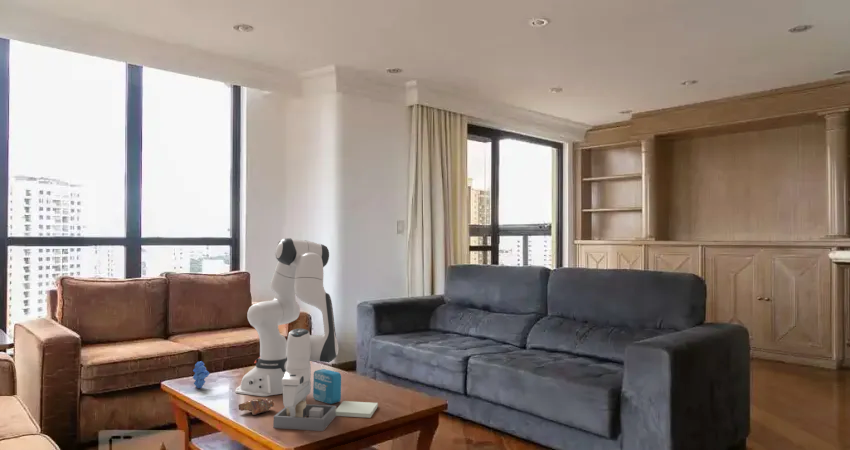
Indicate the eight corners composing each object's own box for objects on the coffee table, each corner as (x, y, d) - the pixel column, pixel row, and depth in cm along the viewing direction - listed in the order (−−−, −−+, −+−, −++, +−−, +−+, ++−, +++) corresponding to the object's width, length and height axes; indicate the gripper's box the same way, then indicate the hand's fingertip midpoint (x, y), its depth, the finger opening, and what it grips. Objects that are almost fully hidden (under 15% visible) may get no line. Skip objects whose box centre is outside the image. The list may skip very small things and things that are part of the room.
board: (333, 415, 219) (333, 411, 219) (343, 404, 233) (343, 400, 233) (370, 417, 217) (370, 413, 217) (377, 406, 231) (377, 402, 231)
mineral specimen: (249, 414, 213) (244, 397, 215) (240, 421, 217) (235, 404, 220) (278, 407, 222) (273, 390, 224) (268, 414, 226) (263, 397, 229)
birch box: (286, 423, 210) (286, 403, 210) (290, 419, 214) (290, 400, 214) (302, 424, 209) (303, 404, 209) (306, 420, 213) (306, 401, 213)
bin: (273, 427, 204) (273, 416, 204) (289, 413, 220) (289, 403, 220) (323, 431, 202) (323, 419, 202) (335, 416, 218) (335, 405, 218)
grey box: (309, 424, 209) (309, 410, 209) (312, 420, 213) (312, 407, 213) (319, 425, 208) (320, 411, 208) (323, 421, 212) (323, 407, 212)
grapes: (213, 390, 250) (214, 362, 250) (197, 392, 246) (198, 363, 246) (205, 384, 260) (206, 357, 260) (189, 386, 256) (190, 358, 256)
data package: (312, 399, 240) (313, 370, 240) (321, 396, 243) (321, 368, 244) (332, 405, 232) (333, 374, 232) (340, 402, 236) (341, 372, 236)
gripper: (299, 367, 222) (298, 404, 222) (279, 381, 202) (279, 421, 202) (315, 368, 222) (314, 405, 221) (297, 382, 201) (296, 422, 201)
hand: (297, 412), depth 212 cm, fingers open, 8 cm apart
